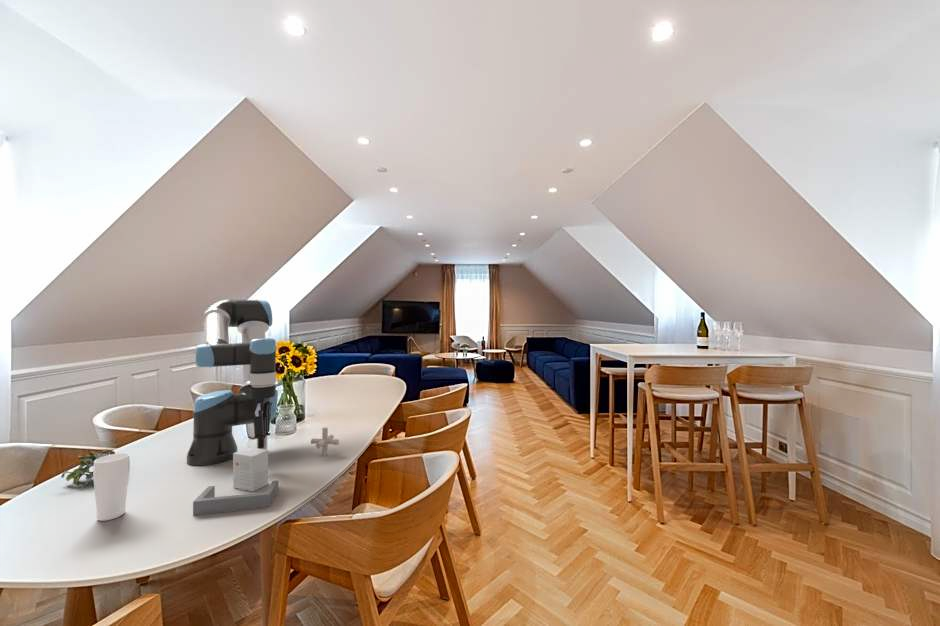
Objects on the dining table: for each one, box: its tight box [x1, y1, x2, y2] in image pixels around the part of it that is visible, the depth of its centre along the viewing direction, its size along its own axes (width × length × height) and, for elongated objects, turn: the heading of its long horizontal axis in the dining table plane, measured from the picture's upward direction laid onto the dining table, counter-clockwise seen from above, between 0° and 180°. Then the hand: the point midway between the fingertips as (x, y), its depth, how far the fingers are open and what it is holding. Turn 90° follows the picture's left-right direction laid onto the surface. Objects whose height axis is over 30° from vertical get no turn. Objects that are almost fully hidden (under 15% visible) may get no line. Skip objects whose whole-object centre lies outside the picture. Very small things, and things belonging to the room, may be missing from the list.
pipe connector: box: [310, 426, 340, 457], centre depth 139 cm, size 10×10×10 cm
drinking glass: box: [92, 452, 131, 522], centre depth 96 cm, size 7×7×15 cm
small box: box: [232, 447, 269, 493], centre depth 114 cm, size 8×6×10 cm
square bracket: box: [192, 479, 279, 516], centre depth 103 cm, size 18×9×4 cm, turn 103°
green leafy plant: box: [60, 448, 117, 488], centre depth 116 cm, size 11×11×12 cm
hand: (262, 456), depth 124 cm, fingers closed
